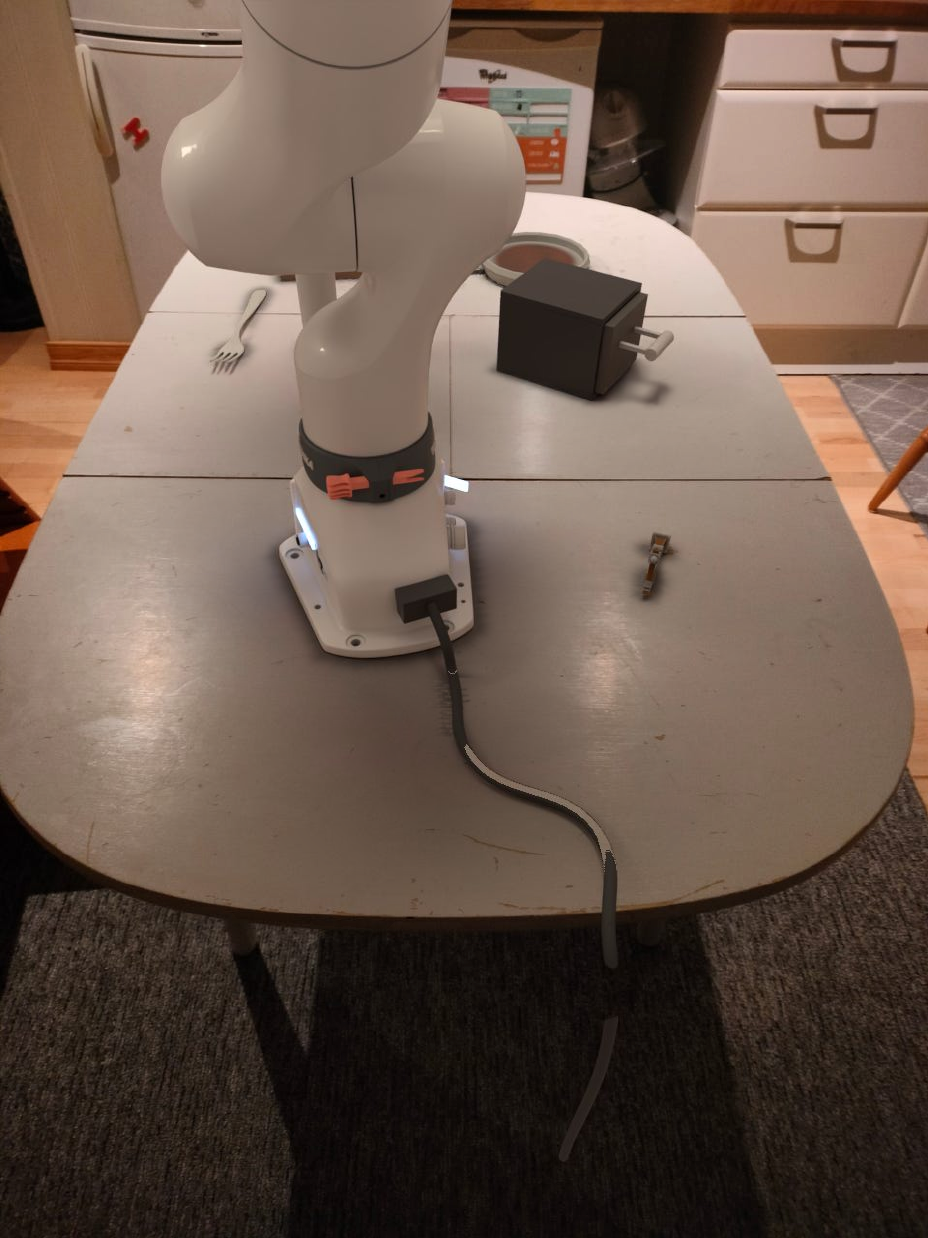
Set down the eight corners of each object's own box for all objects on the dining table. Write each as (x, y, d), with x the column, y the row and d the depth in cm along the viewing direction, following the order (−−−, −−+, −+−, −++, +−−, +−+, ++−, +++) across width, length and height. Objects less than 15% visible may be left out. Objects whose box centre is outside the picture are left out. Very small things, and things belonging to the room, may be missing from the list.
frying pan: (403, 236, 133) (576, 226, 136) (404, 255, 136) (575, 245, 138) (413, 283, 122) (603, 271, 124) (414, 302, 124) (601, 290, 126)
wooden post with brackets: (634, 595, 79) (645, 549, 77) (642, 571, 86) (653, 529, 84) (653, 600, 79) (665, 554, 77) (660, 576, 86) (671, 533, 84)
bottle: (335, 360, 110) (315, 150, 93) (298, 355, 111) (270, 146, 93) (347, 341, 114) (330, 136, 96) (310, 337, 115) (286, 132, 97)
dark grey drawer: (672, 370, 109) (686, 304, 102) (641, 406, 102) (654, 338, 96) (551, 334, 115) (557, 270, 108) (514, 366, 108) (518, 300, 102)
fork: (272, 290, 124) (270, 278, 123) (233, 374, 107) (231, 361, 106) (251, 290, 124) (249, 278, 123) (208, 373, 108) (205, 360, 106)
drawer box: (628, 361, 112) (642, 282, 104) (591, 400, 105) (603, 319, 97) (537, 334, 116) (544, 257, 109) (496, 370, 109) (500, 290, 102)
